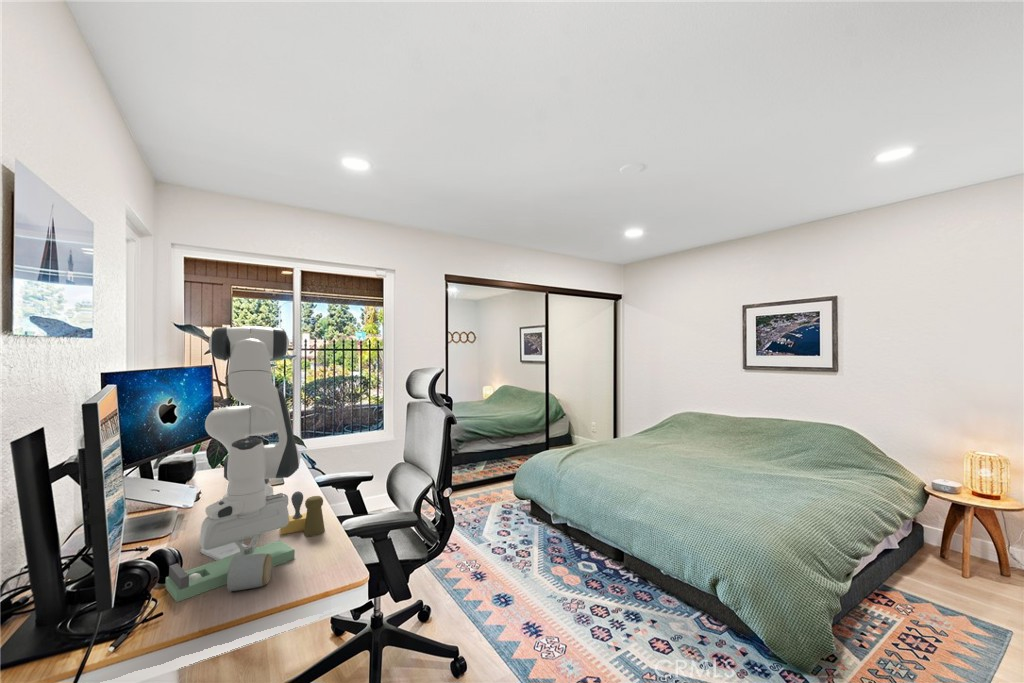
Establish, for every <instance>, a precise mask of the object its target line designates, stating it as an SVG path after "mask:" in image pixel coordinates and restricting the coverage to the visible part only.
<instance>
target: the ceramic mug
mask: <svg viewBox="0 0 1024 683" xmlns="http://www.w3.org/2000/svg"><path fill="white" fill-rule="evenodd" d="M272 570H273V567H272V557H271V555H270V554H250V555H236V556H234V557H233V559H232V560H231V563H230V565H229V570H228V576H227V584H226V587H227V588H226V589H227V591H228V592H230V593H231V592H236V591H243V590H248V589H255V588H260V587H264V586H266V585H267V584H268V583H269V582H270V579H271V575H272Z"/></svg>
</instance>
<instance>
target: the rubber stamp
mask: <svg viewBox="0 0 1024 683" xmlns="http://www.w3.org/2000/svg"><path fill="white" fill-rule="evenodd" d="M290 499H291V500H290V501H291V504H292V505H293V508H294V511H295V513H294V515H289V523H288V525H287V526H286V527H283V528H279V531H280V535H281V536H282V535H286V534H293V533H297V532H301V531H302V532H303V531H304V529H305V522H306V514H307V512H305V513H301V512H300V510H301V507H302V504H303V501H304V494H303V493H302V492H301V491H295V492H294V493H293V494H292V495H291V498H290Z"/></svg>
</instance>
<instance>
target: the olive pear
mask: <svg viewBox="0 0 1024 683" xmlns="http://www.w3.org/2000/svg"><path fill="white" fill-rule="evenodd" d="M323 505H324V498H323V497H322V496H320V495H314V496H309V497H307V499H305V503H304V506H305V508H306V513H307V514H306V522H305V529H304V530H303V531H304V532H303V535H304V536H306V537H314V536H318V535H321V534H323V533H324V532H326V530H325V521H324V516H323V508H322V506H323Z"/></svg>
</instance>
